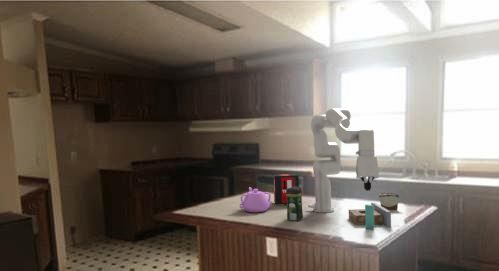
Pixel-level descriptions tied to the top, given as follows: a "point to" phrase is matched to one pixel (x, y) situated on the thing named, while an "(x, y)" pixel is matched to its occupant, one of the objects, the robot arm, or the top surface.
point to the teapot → (255, 201)
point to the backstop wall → (385, 214)
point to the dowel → (369, 216)
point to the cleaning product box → (284, 186)
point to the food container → (389, 200)
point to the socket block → (359, 217)
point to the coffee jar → (294, 203)
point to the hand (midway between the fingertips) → (367, 190)
